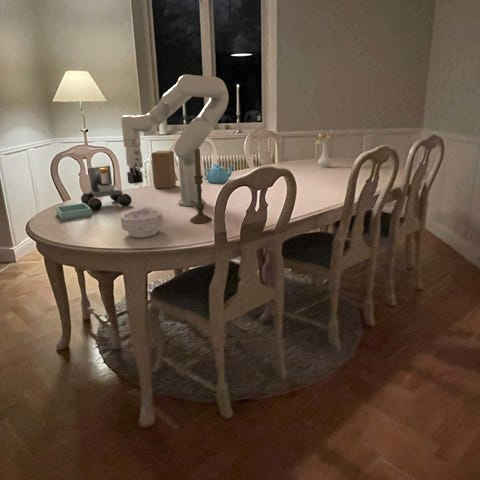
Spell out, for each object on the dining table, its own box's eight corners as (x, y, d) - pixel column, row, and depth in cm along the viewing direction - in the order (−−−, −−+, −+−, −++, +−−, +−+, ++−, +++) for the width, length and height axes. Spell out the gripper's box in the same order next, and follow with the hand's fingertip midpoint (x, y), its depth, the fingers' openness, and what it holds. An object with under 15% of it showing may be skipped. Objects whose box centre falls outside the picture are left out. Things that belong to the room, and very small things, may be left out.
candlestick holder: (203, 225, 171) (199, 149, 162) (185, 222, 176) (180, 148, 166) (216, 219, 179) (213, 146, 169) (198, 216, 183) (194, 145, 174)
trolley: (132, 205, 205) (128, 168, 199) (89, 212, 195) (83, 173, 189) (122, 199, 217) (118, 164, 212) (81, 205, 208) (76, 168, 202)
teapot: (200, 183, 253) (199, 165, 250) (215, 178, 265) (214, 162, 262) (221, 185, 246) (220, 167, 243) (235, 180, 258) (234, 163, 254)
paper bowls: (150, 225, 172) (148, 206, 170) (171, 233, 162) (169, 213, 159) (115, 234, 163) (112, 214, 160) (135, 243, 152) (133, 222, 149)
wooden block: (170, 188, 240) (167, 152, 233) (153, 188, 242) (150, 152, 235) (176, 185, 249) (173, 150, 243) (160, 185, 251) (157, 150, 245)
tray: (91, 216, 189) (90, 208, 188) (62, 220, 183) (60, 212, 182) (85, 210, 199) (84, 203, 198) (57, 214, 193) (55, 207, 192)
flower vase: (308, 168, 293) (309, 130, 285) (323, 164, 306) (325, 128, 297) (324, 170, 284) (326, 131, 276) (339, 166, 297) (341, 129, 289)
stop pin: (111, 190, 202) (108, 168, 198) (102, 191, 200) (99, 169, 196) (108, 188, 205) (106, 167, 201) (100, 189, 203) (97, 168, 200)
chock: (143, 182, 204) (142, 172, 202) (130, 183, 201) (129, 173, 199) (140, 181, 207) (139, 170, 206) (128, 182, 204) (127, 172, 203)
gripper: (146, 144, 193) (149, 184, 199) (134, 141, 207) (137, 178, 213) (129, 145, 189) (133, 186, 195) (118, 142, 203) (122, 180, 209)
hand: (135, 181), depth 204 cm, fingers closed on chock, 4 cm apart
